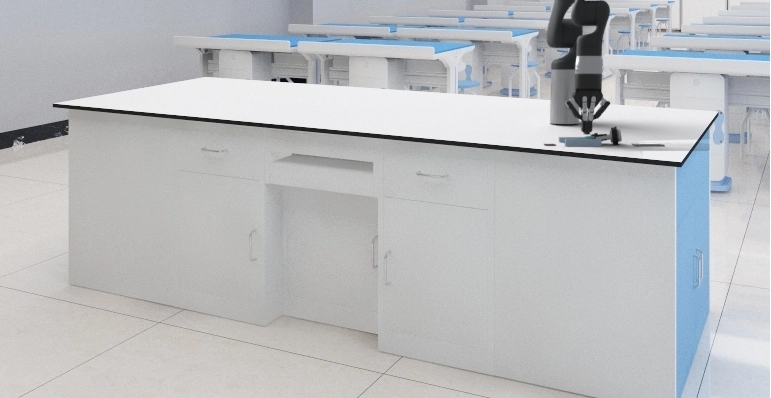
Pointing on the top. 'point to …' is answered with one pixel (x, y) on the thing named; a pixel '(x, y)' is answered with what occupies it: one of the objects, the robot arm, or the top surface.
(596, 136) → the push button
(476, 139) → the top surface
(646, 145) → the mat
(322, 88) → the top surface
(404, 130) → the top surface
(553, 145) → the trap plate
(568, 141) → the channel
